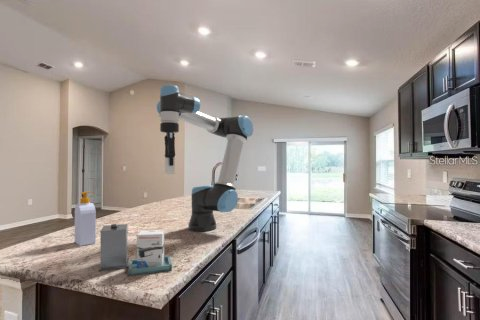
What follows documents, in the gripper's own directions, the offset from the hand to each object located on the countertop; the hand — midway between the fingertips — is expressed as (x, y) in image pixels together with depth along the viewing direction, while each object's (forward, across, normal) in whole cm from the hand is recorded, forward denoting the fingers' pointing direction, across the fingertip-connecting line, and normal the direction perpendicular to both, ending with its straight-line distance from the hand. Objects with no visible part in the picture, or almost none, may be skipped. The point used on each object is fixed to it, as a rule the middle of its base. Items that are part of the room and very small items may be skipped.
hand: (169, 173), depth 116 cm
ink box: (+31, +19, -8) cm, 38 cm away
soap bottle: (+32, -21, -35) cm, 52 cm away
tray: (+32, +19, -8) cm, 38 cm away
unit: (+32, +12, -20) cm, 39 cm away
